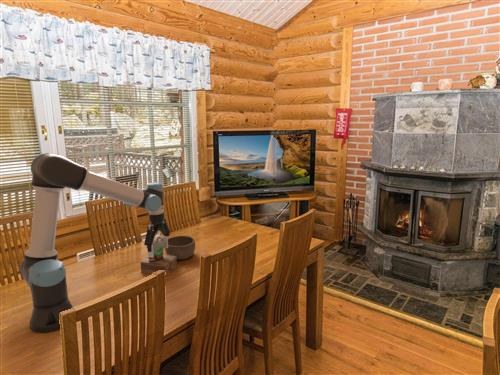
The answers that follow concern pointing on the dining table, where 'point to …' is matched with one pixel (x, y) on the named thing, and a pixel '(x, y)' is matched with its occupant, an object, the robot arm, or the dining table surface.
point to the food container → (157, 249)
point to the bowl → (180, 247)
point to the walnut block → (159, 264)
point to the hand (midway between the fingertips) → (158, 252)
